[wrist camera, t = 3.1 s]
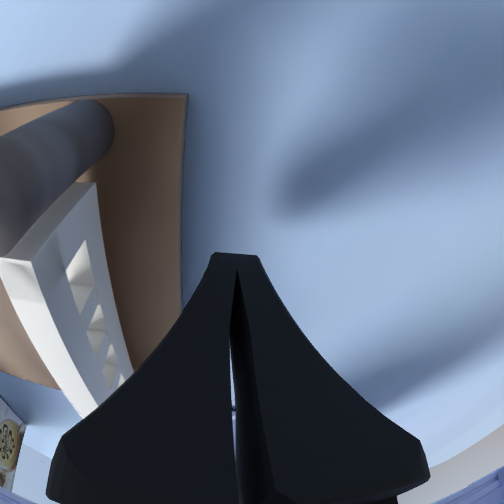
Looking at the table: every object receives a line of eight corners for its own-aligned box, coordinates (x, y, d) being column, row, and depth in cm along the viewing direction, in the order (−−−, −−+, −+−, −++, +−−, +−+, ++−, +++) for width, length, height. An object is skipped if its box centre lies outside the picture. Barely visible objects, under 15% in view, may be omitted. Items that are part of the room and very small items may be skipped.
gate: (137, 385, 14) (127, 449, 11) (117, 382, 14) (103, 444, 11) (96, 182, 8) (30, 261, 5) (62, 181, 8) (-8, 256, 5)
